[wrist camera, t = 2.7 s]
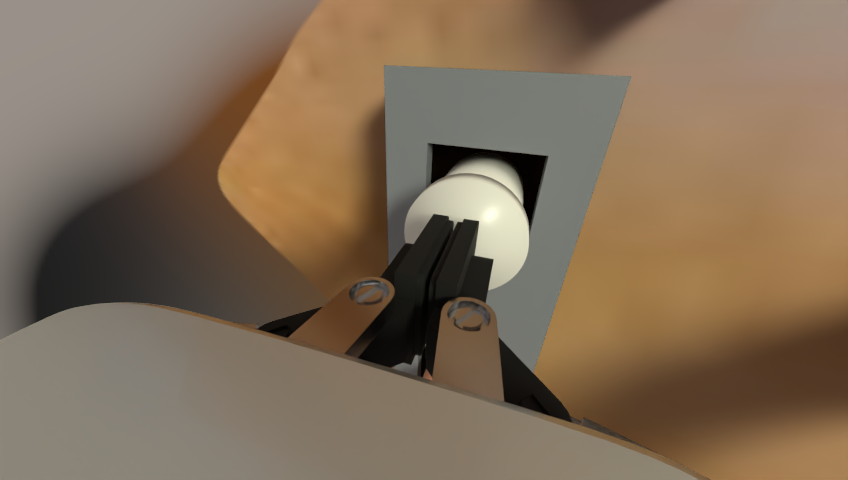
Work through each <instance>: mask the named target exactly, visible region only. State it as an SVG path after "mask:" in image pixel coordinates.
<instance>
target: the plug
mask: <svg viewBox="0 0 848 480" xmlns="http://www.w3.org/2000/svg"><path fill="white" fill-rule="evenodd" d="M523 196H524V186H523V181H522V178H521V175H520V173H519V172H518V170H517V169H516V167H515V166H514V165H513V164H512V163H511V162H510V161H508V160H507V159H505V158H504V157H502V156H500V155H497V154H493V153H485V152H482V153H475V154H471V155H468V156H466V157H464V158H462V159H461V160H460V161H458V162H457V163H456V164H455V165H454V166H453V167H452V169H451V170H450V171H449V172H448V174H447V175H446V176H445V177H443V178H441V179H439V180H437V181H435V182H434V183H432V184H431V185H430V186H428V187H427V188H426V189H425V190H424V191H423V192H422V194H421V195H420V196H419V197H418V198H417V199H416V200H415V202H414V203H413V204H412V206H411V208H410V209H409V211H408V214H407V217H406V221H405V227H404V235H405V242H406V243H410V244H414V243H415V241H416V240H417V238H418V237H419V235H420V234H421V232H422V231H423V229H424V228H425V226H426V225H427V223H428V222H429V220H430V219H431V217H432V216H433V214H438V215H444V216H449V220H451V221H454V227H453V230H454V228H455V226H456V224H457V222H463V220H464V219H469V220H476V221H479V228H478V235H477V242H476V249H475V256H480V257H485V258H490V259H494V260H493V266H492V271H491V277H490V282H489V288H488V290H491V289H495V288H497V287H499V286H501V285H503V284H505V283H507V282H508V281H509V280H511V279H512V278H513V277H514V276H515V275H516V274H517V273H518V272H519V270H520V269H521V268H522V266H523V264H524V262H525V260H526V257H527V254H528V248H529V223H528V218H527V214H526V211H525V209H524V207H523Z"/></svg>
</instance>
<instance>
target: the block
mask: <svg viewBox="0 0 848 480" xmlns="http://www.w3.org/2000/svg"><path fill="white" fill-rule="evenodd" d="M630 79H631V76H609V75H587V74H565V73H543V72H521V71H499V70H477V69H455V68H433V67H410V66H388V65H384V85H385V130H386V176H387V221H388V266H389V265H390V263H391V262H392V261H393V259H394V258H395V256H396V255H397V254H398V252H399V251H400V250H401V248H402V247H403V245H404V244H405V243H406V242H405V235H404V227H405V221H406V217H407V214H408V211H409V209H410V208H411V206H412V204H413V203H414V202H415V200H416V199H417V198H418V197H419V196H420V195H421V194H422V192H423V191H424V190H425V189H426V188H427V187H428V186H430V185H431V169H432V150H433V144H442V145H451V146H461V147H470V148H479V149H489V150H498V151H507V152H517V153H526V154H535V155H545V156H546V160H545V164H544V168H543V173H542V177H541V181H540V185H539V190H538V194H537V198H536V202H535V207H534V211H533V215H532V219H531V223H530V228H529V248H528V254H527V257H526V260H525V262H524V264H523V266H522V268H521V269H520V270H519V272H518V273H517V274H516V275H515V276H514V277H513V278H512V279H511V280H509V281H508V282H507V283H505V284H503V285H501V286H499V287H497V288H495V289H491V290H488V293H487V299H486V304H487V305H489V306H490V307H491V308H492V310H493V311H494V312H495V315H496V318H497V327H498V337H499V338H500V339H501V340H502V341H503V342H504V343H505V344H506V345H507V346H508V347H509V348H510V349H511V350H512V351H513V353H514V354H515V355H516V356H517V357H518V358H519V359H520V360H521V361H522V362H523V363H524V364H525V365H526V366H527V367H528V368H529V369H530V370H531V371H532V372H534V369H535V366H536V363H537V360H538V357H539V354H540V351H541V348H542V345H543V342H544V339H545V336H546V333H547V330H548V327H549V324H550V321H551V318H552V315H553V312H554V309H555V305H556V302H557V299H558V296H559V293H560V290H561V287H562V284H563V281H564V278H565V275H566V272H567V269H568V266H569V263H570V260H571V257H572V254H573V251H574V248H575V245H576V242H577V239H578V236H579V233H580V230H581V227H582V224H583V221H584V218H585V215H586V212H587V209H588V206H589V203H590V200H591V197H592V194H593V191H594V188H595V184H596V181H597V178H598V175H599V172H600V169H601V166H602V163H603V160H604V157H605V154H606V151H607V148H608V145H609V142H610V139H611V136H612V133H613V130H614V127H615V124H616V121H617V118H618V115H619V112H620V109H621V106H622V103H623V100H624V97H625V94H626V91H627V88H628V85H629V82H630ZM425 346H426V344H425ZM395 369H396V370H399V371H403V372H406V373H409V374H413V375H416V376H420V377H423V376H424V373H425V370H426V358H425V353H424V352H422V355H421V356H417V355H415V357H414V360H413V362H412V365H409V364H406V363H401V364H398V365H396V366H395Z"/></svg>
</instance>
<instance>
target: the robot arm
mask: <svg viewBox="0 0 848 480" xmlns="http://www.w3.org/2000/svg"><path fill="white" fill-rule="evenodd" d="M453 227H454V221H451V220H449V216H444V215H438V214H433V216H432V217H431V219H430V220H429V222H428V223H427V225H426V226H425V228H424V229H423V231H422V232H421V234H420V235H419V237H418V238H417V240H416V241H415V243H414V244H410V243H405V244H404V245H403V247H402V248H401V250H400V251H399V252H398V254H397V255H396V256H395V258H394V259H393V261H392V262H391V263H390V265H389V266H388V268H387V269H386V270H385V272H384V273H383V275H382V276H381V277H380V278H379V277H364V278H360V279H357V280H354V281H353V282H351V283H350V284H348V285H347V286H346V287H345V288H344V289H343V290H342V291H340V292H339V293H338V294H337V295H336V296H335V297H334V298H332V299H331V300H330V301H329V302H328V303H327V304H326V305H325V306H323V307H320V308H317V309H313V310H310V311H306V312H303V313H299V314H296V315H292V316H289V317H286V318H282V319H279V320H275V321H272V322H270V323H267V324H265V325H263V326H261V327H260V328H259V325H258V324H252V323H238V322H237V323H236V322H229V321H225V320H221V319H218V318H214V317H210V316H206V315H203V314H199V313H194V312H190V311H186V310H182V309H177V308H173V307H168V306H161V305H154V304H147V303H126V302H121V303H103V304H94V305H87V306H82V307H76V308H72V309H68V310H65V311H62V312H59V313H57V314H55V315H52V316H50V317H48V318H45V319H43V320H41V321H39V322H37V323H35V324H32V325H30V326H28V327H26V328H24V329H22V330H20V331H18V332H16V333H13V334H11V335H9V336H7V337H5V338H3V339H1V340H0V480H710V479H709V478H707V477H705V476H703V475H701V474H699V473H697V472H695V471H693V470H691V469H689V468H687V467H685V466H683V465H681V464H679V463H677V462H675V461H673V460H671V459H669V458H667V457H664V456H662V455H660V454H658V453H656V452H654V451H652V450H649V449H647V448H645V447H643V446H641V445H639V444H637V443H635V442H633V441H631V440H629V439H627V438H625V437H623V436H621V435H619V434H617V433H615V432H613V431H611V430H609V429H607V428H605V427H602V426H600V425H598V424H596V423H594V422H592V421H590V420H588V419H586V418H583V420H582V422H581V421H579V420H577V419H575V418H573V417H571V416H570V415H569V413H568V411H567V410H566V408H565V407H564V406H563V405H562V403H561V402H560V401H559V400H558V399H557V398H556V397H555V396H554V395H553V393H552V392H551V391H550V390H549V389H548V388H547V387H546V386H545V385H544V384H543V383H542V382H541V381H540V380H539V379H538V378H537V377H536V376H535V375H534V374H533V372H532V371H531V370H530V369H529V368H528V367H527V366H526V365H525V364H524V363H523V362H522V361H521V360H520V359H519V358H518V357H517V356H516V355H515V354H514V353H513V351H512V350H511V349H510V348H509V347H508V346H507V345H506V344H505V343H504V342H503V341H502V340H501V339H500V338H499V337H498V327H497V318H496V315H495V312H494V311H493V310H492V308H491V307H490V306H489V305H487V304H486V299H487V293H488V288H489V282H490V277H491V271H492V266H493V260H494V259H490V258H485V257H480V256H475V249H476V242H477V235H478V228H479V221H476V220H469V219H464V220H463V222H457V224H456V226H455V228H454V230H453ZM425 344H426V348H425V358H426V369H427V370H428V372H429V374H430V375H431V377H432V380H430V379H426V378H423V377H420V376H416V375H413V374H409V373H406V372H403V371H399V370H396V369H395V366H396V365H398V364H401V363H406V364H409V365H412V362H413V360H414V357H415V355H417V356H421V355H422V352H423V350H424V347H425Z"/></svg>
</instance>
